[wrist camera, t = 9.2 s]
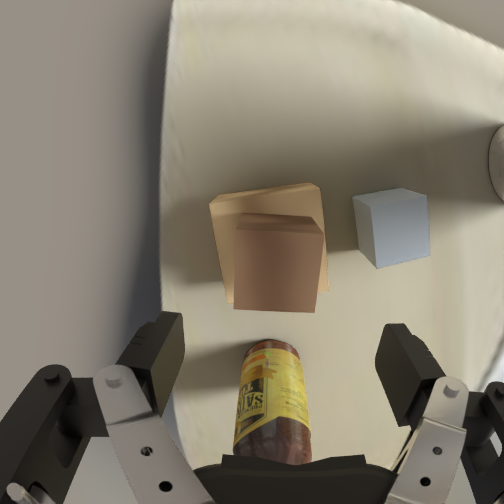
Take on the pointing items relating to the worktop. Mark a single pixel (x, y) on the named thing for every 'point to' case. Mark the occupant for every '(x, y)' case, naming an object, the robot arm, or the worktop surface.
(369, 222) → the slate-blue cube
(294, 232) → the walnut cube
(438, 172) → the worktop surface
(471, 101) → the worktop surface
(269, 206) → the oak block
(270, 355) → the sauce bottle
